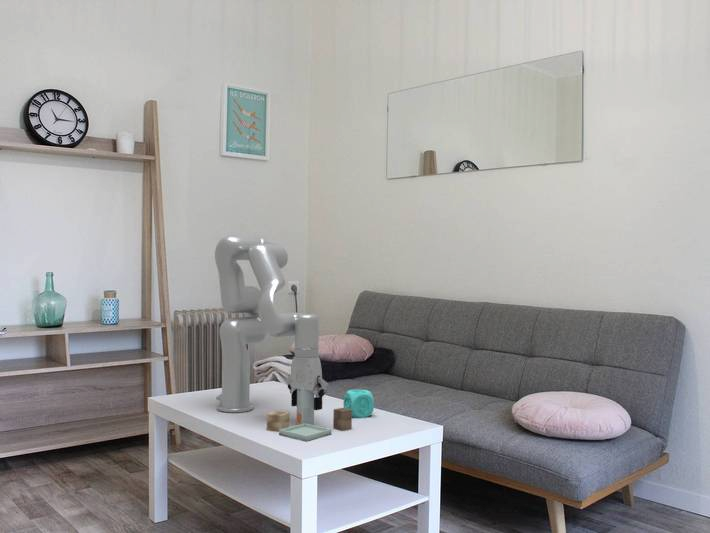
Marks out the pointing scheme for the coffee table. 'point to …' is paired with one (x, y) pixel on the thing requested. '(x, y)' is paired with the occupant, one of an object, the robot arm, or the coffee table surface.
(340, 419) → the walnut block
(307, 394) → the skincare box
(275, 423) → the oak cube
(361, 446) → the coffee table surface
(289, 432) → the tray
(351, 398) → the decorative dice
